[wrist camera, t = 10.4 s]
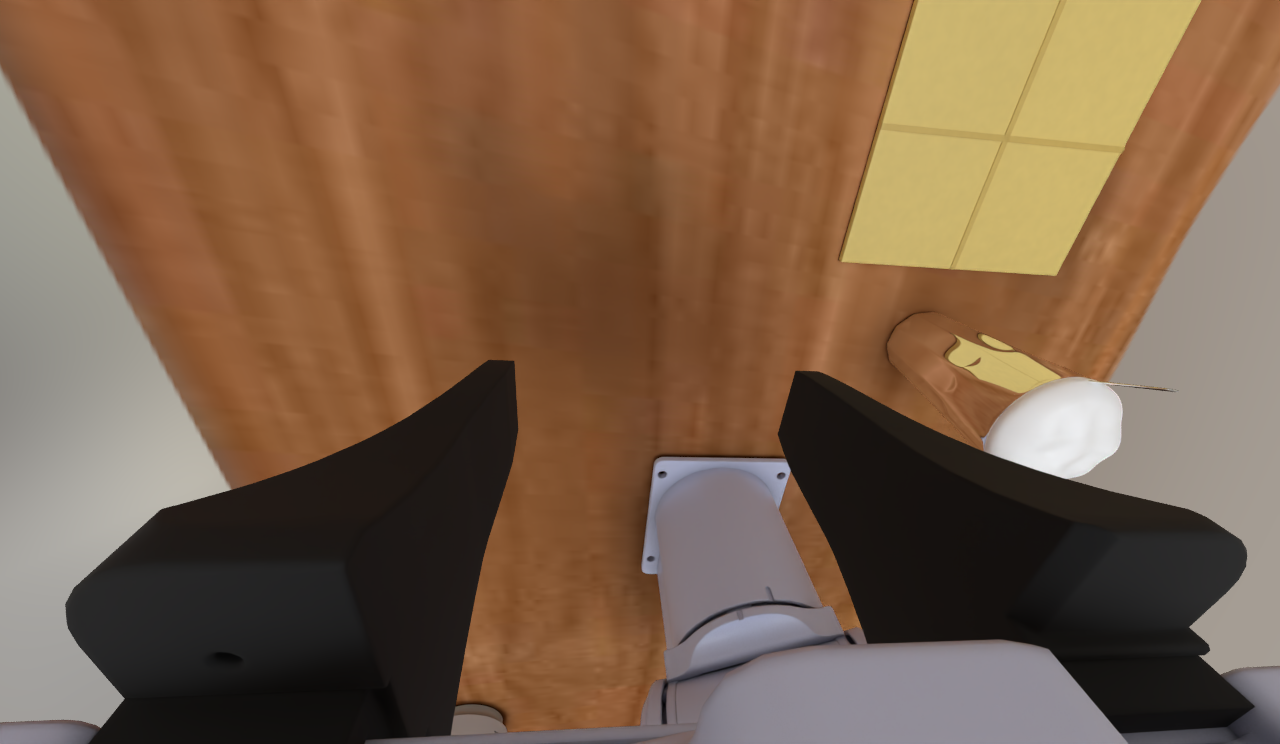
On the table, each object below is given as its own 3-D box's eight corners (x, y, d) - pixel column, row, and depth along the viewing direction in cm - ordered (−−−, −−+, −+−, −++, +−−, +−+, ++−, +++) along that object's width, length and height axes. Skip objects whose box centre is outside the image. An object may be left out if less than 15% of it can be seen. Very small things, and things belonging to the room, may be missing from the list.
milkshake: (987, 292, 23) (1232, 401, 14) (931, 384, 25) (1110, 526, 16) (908, 274, 22) (1114, 377, 13) (858, 371, 24) (1004, 513, 16)
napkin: (1050, 274, 22) (1056, 275, 22) (838, 260, 21) (841, 262, 21) (1200, -13, 17) (1211, -15, 17) (929, -52, 16) (935, -56, 16)
